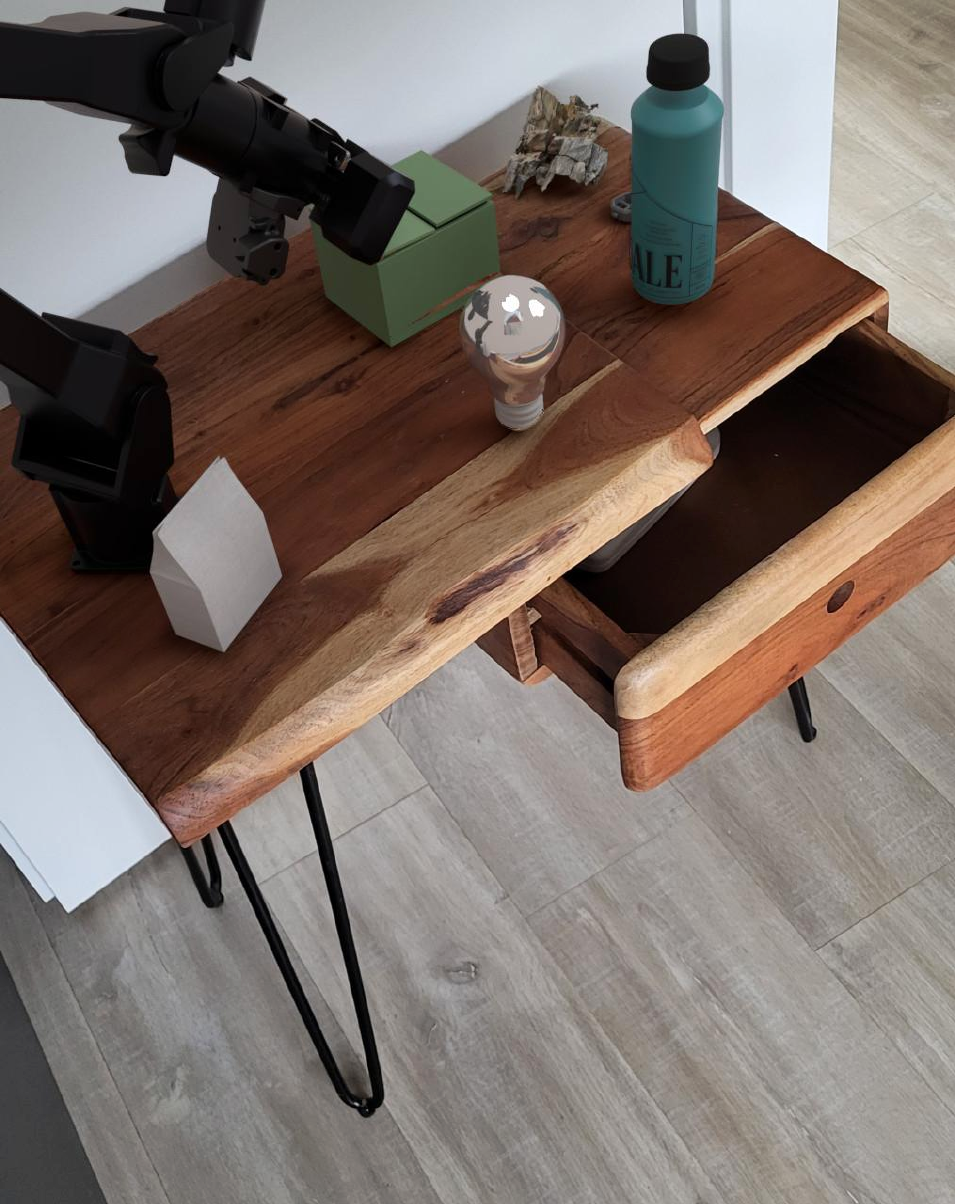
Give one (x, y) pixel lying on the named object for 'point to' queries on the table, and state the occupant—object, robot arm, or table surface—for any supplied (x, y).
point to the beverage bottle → (675, 173)
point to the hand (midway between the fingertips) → (388, 206)
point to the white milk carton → (213, 559)
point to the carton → (418, 256)
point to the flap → (406, 232)
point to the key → (619, 202)
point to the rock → (557, 143)
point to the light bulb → (513, 343)
